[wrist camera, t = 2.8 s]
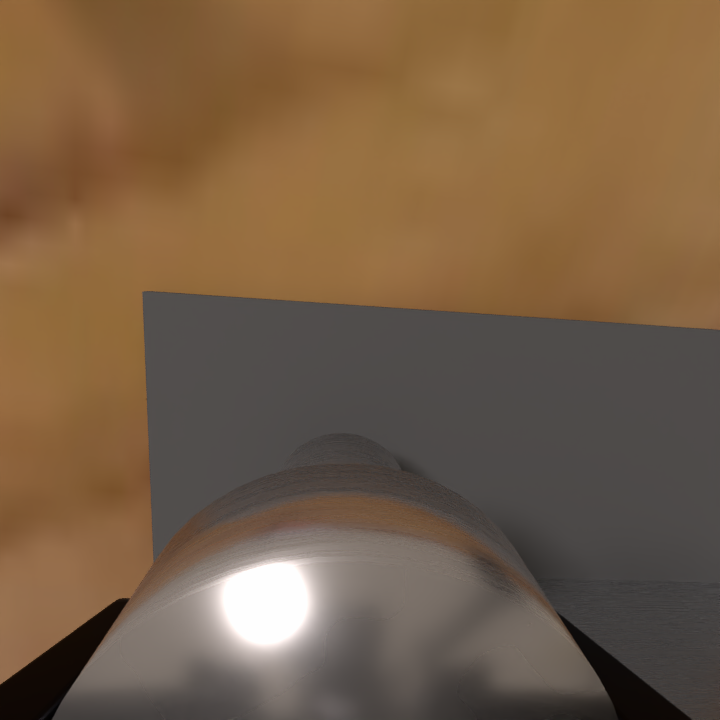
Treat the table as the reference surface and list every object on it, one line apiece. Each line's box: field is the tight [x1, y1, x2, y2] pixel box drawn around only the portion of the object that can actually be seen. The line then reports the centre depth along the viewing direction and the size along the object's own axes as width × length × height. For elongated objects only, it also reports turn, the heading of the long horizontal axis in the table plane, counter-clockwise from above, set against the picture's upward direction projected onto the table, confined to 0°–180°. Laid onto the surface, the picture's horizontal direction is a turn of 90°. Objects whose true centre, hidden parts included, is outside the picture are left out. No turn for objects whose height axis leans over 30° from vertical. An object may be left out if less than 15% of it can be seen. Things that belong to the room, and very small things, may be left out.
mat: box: [143, 291, 720, 583], centre depth 14 cm, size 22×22×1 cm
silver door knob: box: [52, 433, 618, 720], centre depth 7 cm, size 6×6×6 cm
